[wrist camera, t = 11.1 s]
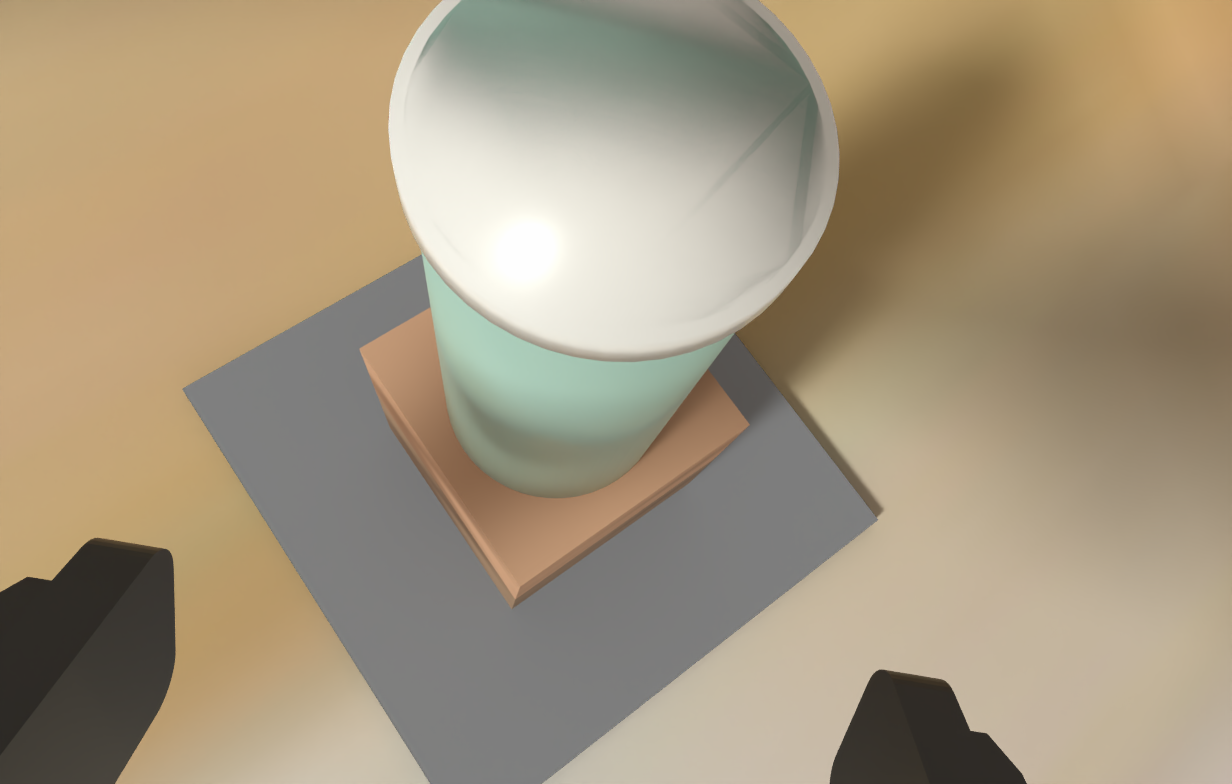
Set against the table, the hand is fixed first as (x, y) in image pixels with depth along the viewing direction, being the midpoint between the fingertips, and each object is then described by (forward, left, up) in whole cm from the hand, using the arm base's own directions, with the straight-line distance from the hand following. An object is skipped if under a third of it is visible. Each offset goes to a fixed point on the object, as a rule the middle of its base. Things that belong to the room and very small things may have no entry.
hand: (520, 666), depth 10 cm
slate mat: (-4, +4, -14) cm, 16 cm away
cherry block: (-4, +4, -11) cm, 12 cm away
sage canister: (-4, +4, -7) cm, 9 cm away
